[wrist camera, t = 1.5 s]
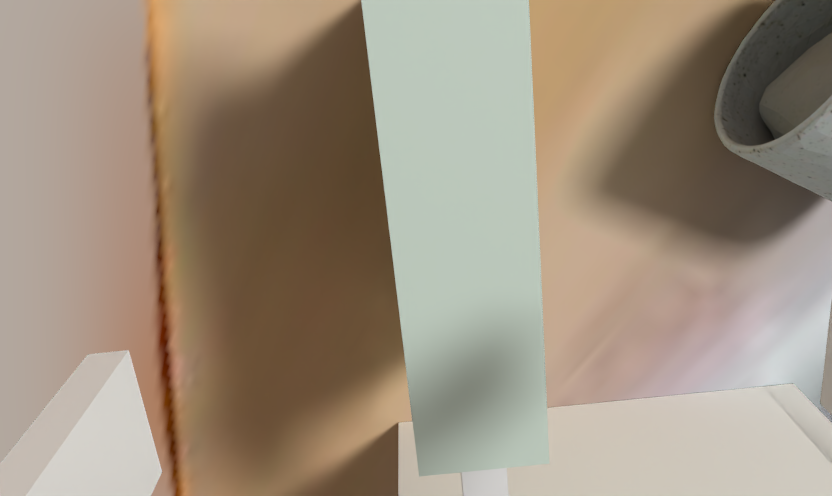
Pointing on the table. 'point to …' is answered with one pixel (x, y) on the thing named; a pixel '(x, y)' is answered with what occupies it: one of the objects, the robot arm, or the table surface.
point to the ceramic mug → (783, 94)
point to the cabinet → (666, 449)
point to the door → (463, 229)
